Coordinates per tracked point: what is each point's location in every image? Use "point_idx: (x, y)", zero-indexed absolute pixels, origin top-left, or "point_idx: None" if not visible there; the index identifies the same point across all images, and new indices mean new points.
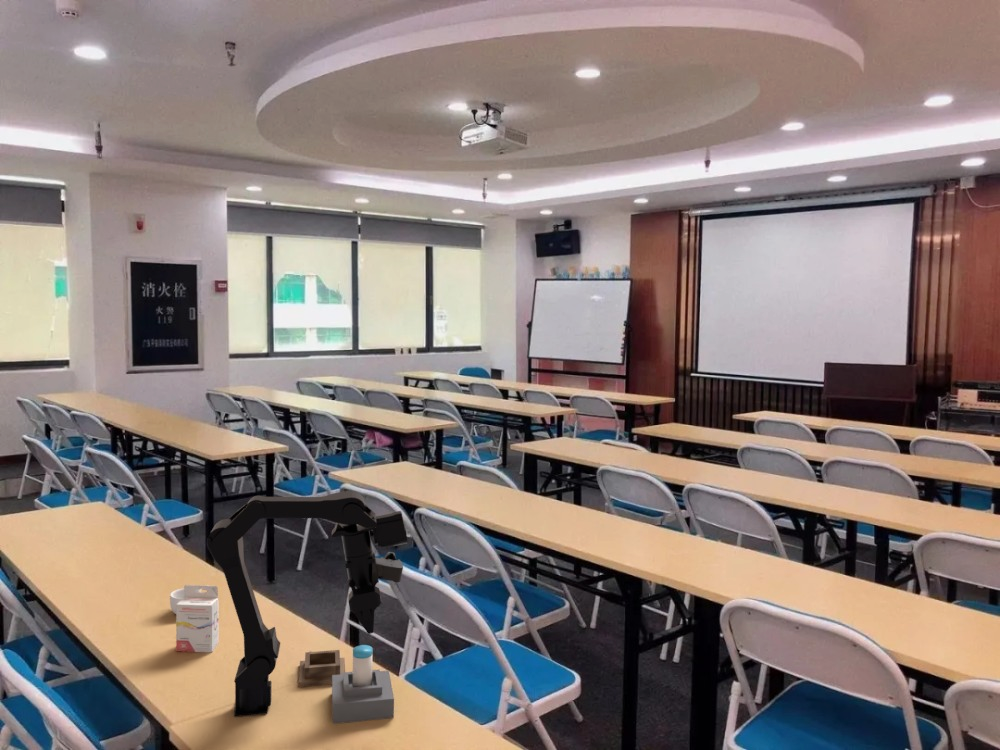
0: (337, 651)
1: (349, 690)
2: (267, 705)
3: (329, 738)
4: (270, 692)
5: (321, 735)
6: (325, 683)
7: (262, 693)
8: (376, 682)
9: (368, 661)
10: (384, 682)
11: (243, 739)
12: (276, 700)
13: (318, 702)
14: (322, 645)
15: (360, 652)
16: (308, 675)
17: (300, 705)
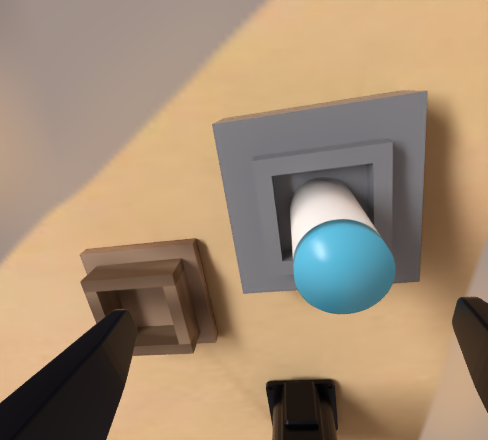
0: (90, 286)
1: (391, 250)
2: (315, 387)
3: (467, 255)
4: (315, 408)
5: (448, 273)
6: (204, 284)
7: (323, 423)
8: (347, 165)
9: (373, 226)
10: (300, 135)
11: (423, 405)
12: (275, 367)
13: (291, 291)
14: (15, 302)
15: (376, 282)
16: (196, 331)
17: (301, 324)
